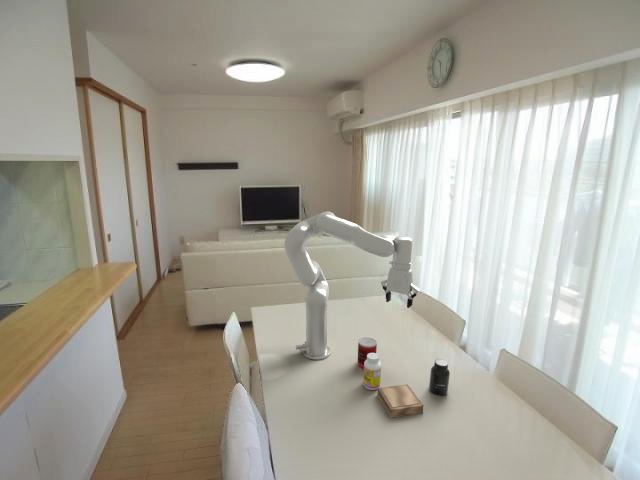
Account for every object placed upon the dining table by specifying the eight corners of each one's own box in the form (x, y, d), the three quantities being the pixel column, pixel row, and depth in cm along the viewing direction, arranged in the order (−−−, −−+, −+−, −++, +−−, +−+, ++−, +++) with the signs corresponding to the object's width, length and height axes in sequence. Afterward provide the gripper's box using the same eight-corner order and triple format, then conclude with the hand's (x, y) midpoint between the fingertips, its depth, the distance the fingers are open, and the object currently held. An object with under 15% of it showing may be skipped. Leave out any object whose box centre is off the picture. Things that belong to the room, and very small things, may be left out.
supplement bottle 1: (359, 382, 137) (361, 353, 134) (374, 378, 140) (375, 349, 137) (368, 392, 131) (370, 362, 128) (383, 388, 134) (385, 358, 131)
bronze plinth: (390, 417, 118) (391, 409, 118) (377, 395, 130) (377, 387, 129) (422, 412, 121) (423, 404, 120) (407, 391, 132) (407, 383, 132)
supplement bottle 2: (438, 398, 129) (441, 369, 126) (425, 388, 134) (427, 360, 132) (451, 393, 132) (454, 364, 129) (438, 383, 138) (440, 355, 135)
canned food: (377, 362, 151) (378, 339, 149) (372, 372, 144) (373, 347, 142) (360, 358, 155) (361, 335, 152) (354, 367, 147) (355, 343, 145)
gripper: (378, 264, 148) (376, 301, 152) (417, 272, 138) (414, 312, 142) (386, 260, 154) (384, 296, 158) (424, 267, 144) (421, 306, 148)
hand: (398, 304), depth 150 cm, fingers open, 9 cm apart
